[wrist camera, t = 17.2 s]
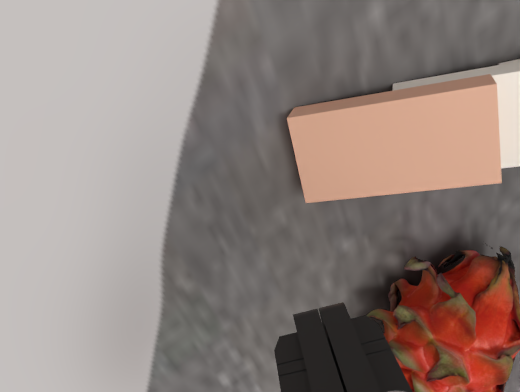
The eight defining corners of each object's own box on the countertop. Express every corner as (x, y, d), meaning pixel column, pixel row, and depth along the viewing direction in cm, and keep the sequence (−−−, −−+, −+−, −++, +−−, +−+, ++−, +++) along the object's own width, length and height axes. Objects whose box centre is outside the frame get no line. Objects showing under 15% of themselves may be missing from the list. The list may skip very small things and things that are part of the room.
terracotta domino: (294, 107, 27) (490, 74, 24) (311, 188, 29) (495, 167, 26) (286, 118, 26) (496, 83, 22) (305, 203, 27) (501, 183, 24)
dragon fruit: (347, 348, 36) (441, 213, 34) (451, 430, 33) (560, 286, 32) (319, 379, 28) (440, 205, 27) (453, 490, 25) (598, 302, 24)
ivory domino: (392, 83, 27) (601, 46, 24) (403, 165, 29) (598, 141, 26) (392, 92, 26) (617, 54, 22) (403, 179, 27) (612, 155, 24)
